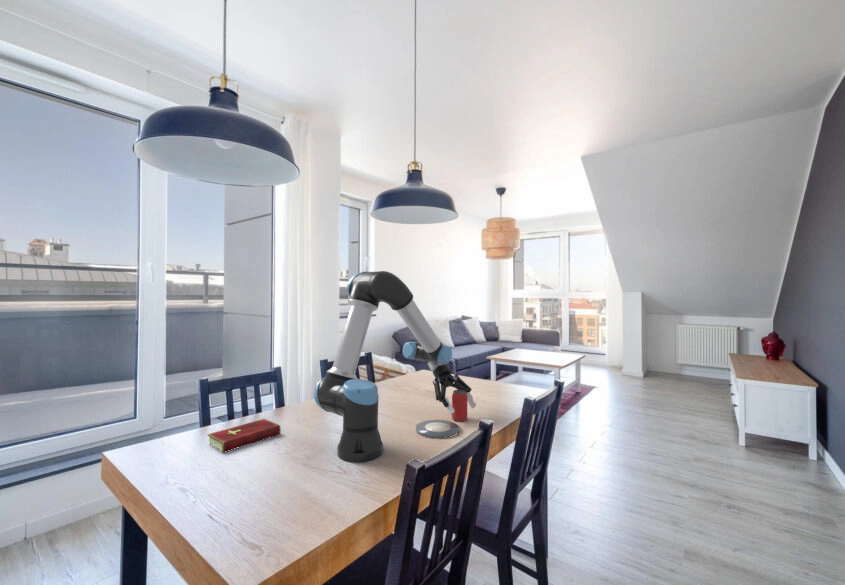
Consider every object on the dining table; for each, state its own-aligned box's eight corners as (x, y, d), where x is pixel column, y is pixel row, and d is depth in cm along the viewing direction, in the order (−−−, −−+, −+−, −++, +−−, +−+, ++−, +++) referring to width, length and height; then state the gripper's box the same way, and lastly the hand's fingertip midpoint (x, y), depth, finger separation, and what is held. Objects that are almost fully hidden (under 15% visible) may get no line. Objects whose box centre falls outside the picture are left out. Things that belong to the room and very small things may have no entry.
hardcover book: (280, 435, 140) (280, 424, 140) (222, 454, 123) (222, 441, 123) (264, 428, 147) (264, 417, 147) (207, 445, 131) (207, 433, 131)
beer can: (449, 417, 160) (449, 390, 160) (463, 416, 162) (463, 388, 162) (456, 422, 154) (456, 394, 154) (470, 421, 156) (470, 392, 156)
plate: (442, 442, 133) (442, 438, 133) (407, 431, 144) (407, 427, 144) (467, 429, 146) (467, 425, 146) (434, 419, 157) (434, 416, 157)
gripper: (454, 369, 178) (478, 409, 166) (414, 377, 162) (437, 420, 150) (462, 360, 174) (487, 399, 162) (422, 366, 158) (447, 411, 146)
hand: (463, 410), depth 156 cm, fingers open, 12 cm apart
